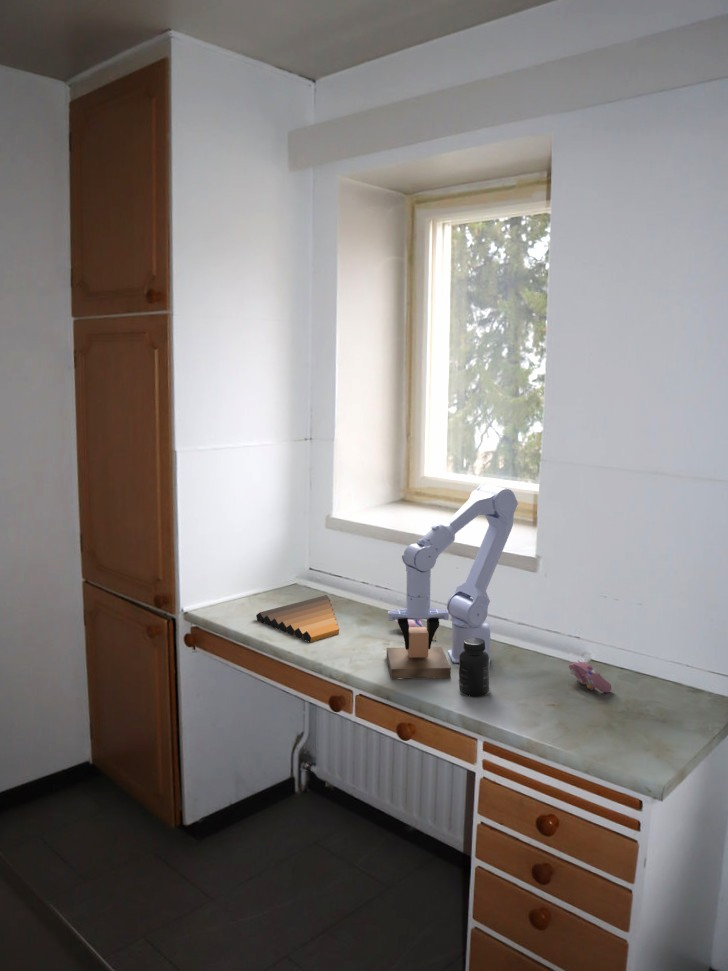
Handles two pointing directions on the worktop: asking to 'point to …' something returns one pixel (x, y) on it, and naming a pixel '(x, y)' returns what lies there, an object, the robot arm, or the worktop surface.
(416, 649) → the rust block
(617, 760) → the worktop surface
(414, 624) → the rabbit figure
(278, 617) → the pan flute
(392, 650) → the walnut base board
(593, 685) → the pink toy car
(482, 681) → the supplement bottle
